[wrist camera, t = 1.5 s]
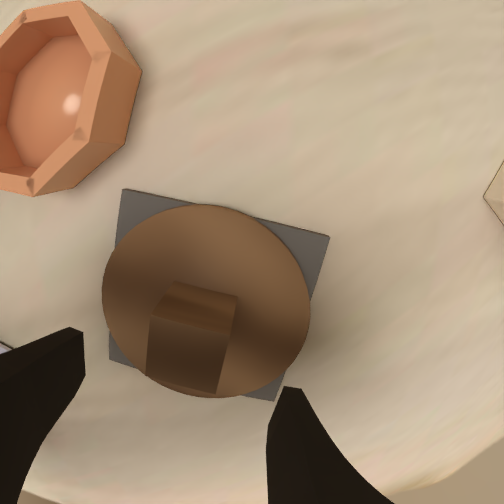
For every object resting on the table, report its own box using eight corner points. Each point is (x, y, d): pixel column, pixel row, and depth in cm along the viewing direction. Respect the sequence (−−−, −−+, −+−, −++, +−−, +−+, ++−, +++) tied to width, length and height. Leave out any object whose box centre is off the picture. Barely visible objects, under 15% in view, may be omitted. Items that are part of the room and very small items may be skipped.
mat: (273, 397, 18) (273, 401, 17) (111, 355, 17) (109, 359, 17) (328, 235, 15) (329, 237, 15) (125, 188, 15) (122, 189, 14)
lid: (276, 404, 17) (278, 459, 13) (106, 360, 17) (75, 405, 13) (335, 234, 15) (361, 263, 10) (119, 184, 14) (71, 195, 10)
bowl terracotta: (115, 196, 15) (79, 207, 12) (-3, 173, 15) (-42, 179, 11) (156, 24, 12) (131, -4, 9) (28, 32, 12) (-7, 18, 9)
